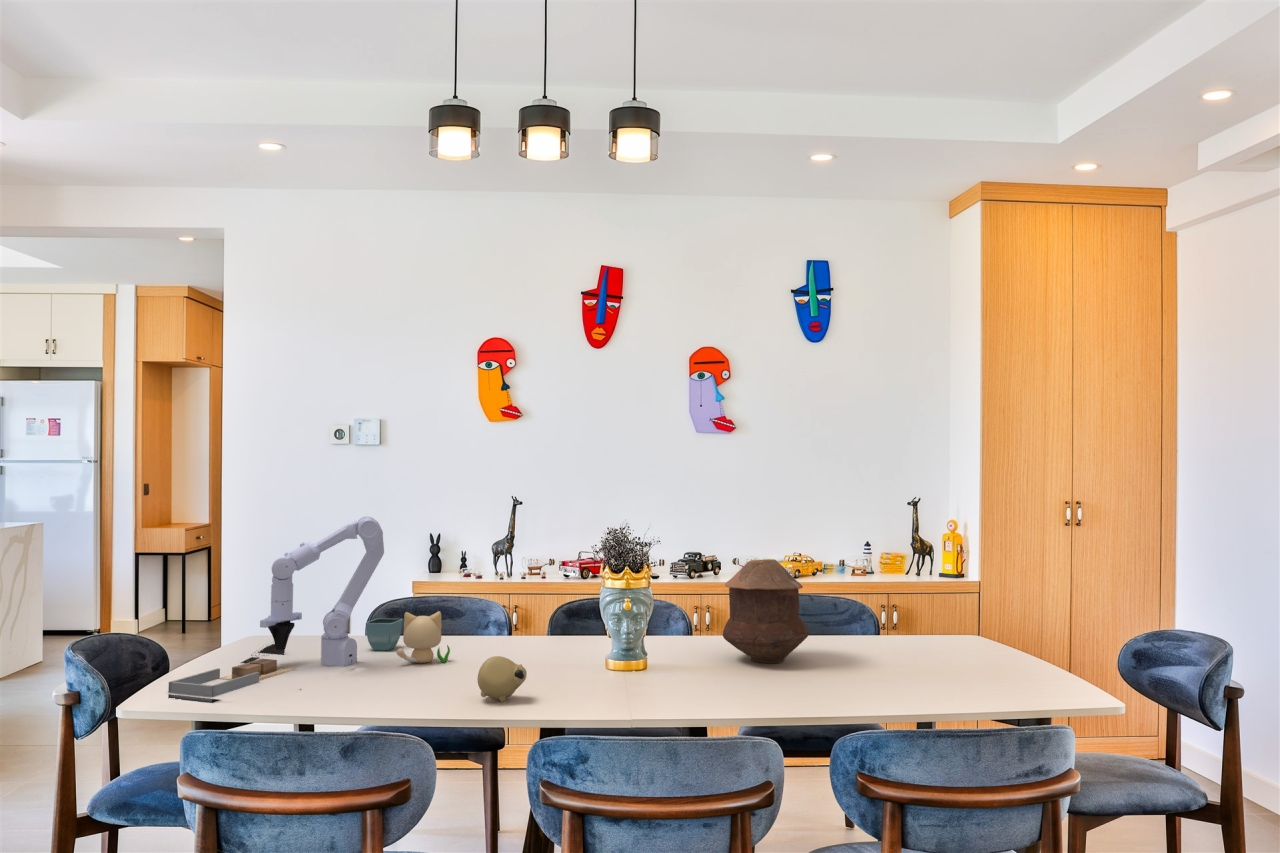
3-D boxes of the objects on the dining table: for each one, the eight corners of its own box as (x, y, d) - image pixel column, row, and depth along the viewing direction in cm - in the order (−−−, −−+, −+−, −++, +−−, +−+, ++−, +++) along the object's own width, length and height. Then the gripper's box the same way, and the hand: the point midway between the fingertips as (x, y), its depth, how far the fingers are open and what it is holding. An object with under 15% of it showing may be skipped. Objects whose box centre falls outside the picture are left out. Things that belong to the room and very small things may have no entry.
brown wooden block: (276, 670, 242) (276, 659, 242) (263, 675, 237) (263, 663, 238) (261, 669, 244) (262, 658, 244) (248, 673, 239) (248, 662, 239)
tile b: (260, 675, 236) (261, 664, 237) (247, 680, 232) (247, 668, 232) (245, 674, 238) (246, 663, 238) (231, 678, 233) (232, 667, 233)
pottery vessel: (802, 673, 247) (801, 565, 248) (713, 666, 255) (713, 562, 257) (814, 654, 271) (814, 556, 273) (733, 649, 280) (732, 554, 281)
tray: (258, 687, 230) (259, 672, 230) (211, 703, 215) (212, 686, 215) (217, 683, 234) (217, 668, 234) (168, 698, 219) (168, 682, 219)
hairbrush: (223, 663, 248) (264, 640, 273) (223, 676, 248) (264, 652, 273) (252, 663, 247) (290, 641, 272) (252, 676, 247) (290, 653, 272)
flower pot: (376, 646, 283) (377, 617, 284) (402, 646, 282) (403, 618, 283) (364, 651, 275) (365, 622, 275) (391, 652, 273) (391, 623, 274)
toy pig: (524, 705, 214) (524, 660, 214) (474, 705, 214) (474, 660, 214) (528, 694, 224) (528, 652, 224) (480, 694, 224) (481, 652, 224)
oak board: (295, 674, 244) (295, 669, 244) (256, 687, 230) (256, 681, 230) (260, 671, 248) (260, 665, 248) (219, 683, 234) (219, 678, 234)
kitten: (450, 657, 266) (451, 607, 267) (449, 665, 256) (449, 613, 257) (399, 659, 264) (400, 609, 264) (396, 667, 254) (396, 614, 255)
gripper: (288, 596, 256) (286, 643, 256) (251, 603, 242) (250, 653, 242) (308, 597, 254) (307, 645, 253) (272, 604, 240) (271, 655, 240)
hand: (280, 649), depth 247 cm, fingers closed
